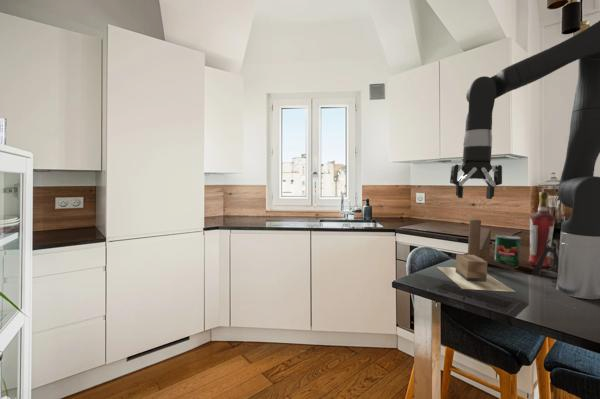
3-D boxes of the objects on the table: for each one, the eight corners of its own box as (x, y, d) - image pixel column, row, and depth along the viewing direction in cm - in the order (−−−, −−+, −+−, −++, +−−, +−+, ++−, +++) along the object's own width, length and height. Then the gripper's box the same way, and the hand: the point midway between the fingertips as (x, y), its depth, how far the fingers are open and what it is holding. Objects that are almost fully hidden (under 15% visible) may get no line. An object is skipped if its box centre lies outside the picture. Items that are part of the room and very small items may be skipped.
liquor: (525, 262, 120) (529, 191, 118) (548, 265, 117) (553, 192, 115) (528, 266, 114) (533, 192, 112) (553, 269, 110) (559, 192, 108)
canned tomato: (511, 262, 119) (513, 235, 118) (523, 268, 111) (525, 238, 110) (490, 261, 120) (491, 234, 119) (500, 267, 112) (501, 237, 112)
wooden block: (489, 266, 113) (491, 218, 112) (475, 271, 107) (478, 220, 105) (478, 264, 116) (481, 217, 115) (464, 268, 109) (467, 219, 108)
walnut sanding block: (473, 272, 101) (474, 255, 100) (486, 281, 92) (487, 262, 91) (455, 271, 101) (456, 254, 101) (466, 280, 92) (468, 261, 92)
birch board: (478, 272, 105) (479, 268, 105) (515, 296, 84) (515, 291, 84) (436, 270, 107) (436, 266, 107) (462, 292, 85) (462, 288, 85)
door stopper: (531, 274, 105) (533, 239, 104) (533, 270, 109) (535, 237, 108) (566, 280, 98) (568, 243, 98) (567, 276, 103) (569, 241, 102)
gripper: (457, 144, 91) (455, 198, 92) (509, 144, 89) (505, 199, 90) (448, 147, 98) (446, 197, 99) (495, 147, 97) (492, 198, 98)
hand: (474, 198), depth 95 cm, fingers open, 8 cm apart
